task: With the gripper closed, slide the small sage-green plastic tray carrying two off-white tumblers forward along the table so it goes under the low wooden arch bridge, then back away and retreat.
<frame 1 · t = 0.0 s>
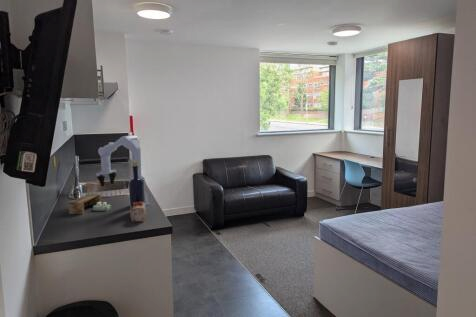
hand: (107, 184, 228), 10 cm above the worktop, fingers open, 7 cm apart
food item: (138, 219, 187), on the worktop
tray: (102, 209, 207), on the worktop
bottle: (138, 212, 200), on the worktop
wooden arch bridge: (86, 209, 208), on the worktop
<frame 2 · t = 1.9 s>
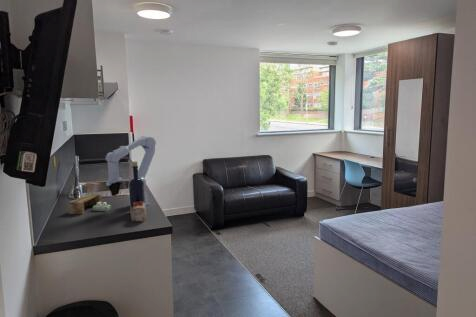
hand: (115, 195, 204), 9 cm above the worktop, fingers closed
nothing on the worktop moved.
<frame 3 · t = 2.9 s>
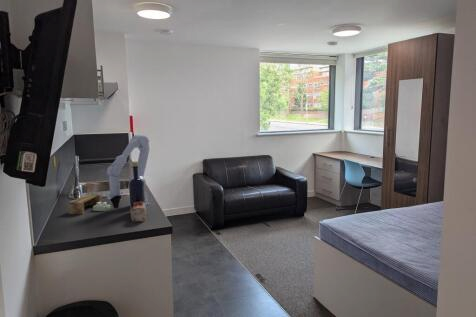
hand: (116, 208, 205), 1 cm above the worktop, fingers closed
nothing on the worktop moved.
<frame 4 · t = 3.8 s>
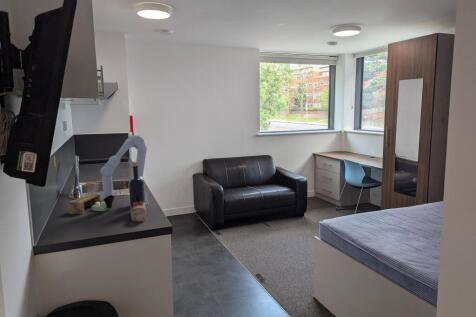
hand: (109, 208, 205), 1 cm above the worktop, fingers closed, pressing on tray
tray: (100, 209, 207), on the worktop, touching gripper
everything else where it was.
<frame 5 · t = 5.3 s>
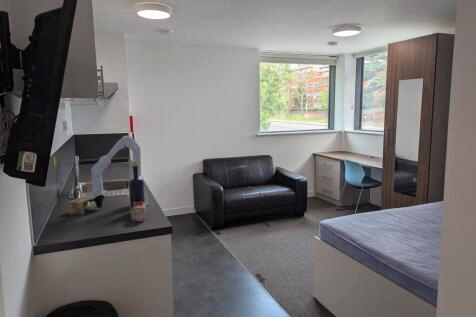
hand: (99, 207, 207), 1 cm above the worktop, fingers closed, pressing on tray
tray: (90, 209, 208), on the worktop, touching gripper
everything else where it was.
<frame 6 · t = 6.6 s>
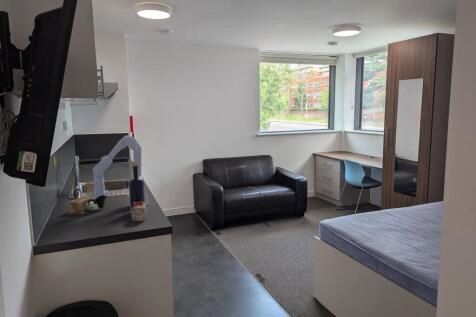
hand: (101, 207, 207), 1 cm above the worktop, fingers closed
tray: (88, 209, 208), on the worktop
everything else where it was.
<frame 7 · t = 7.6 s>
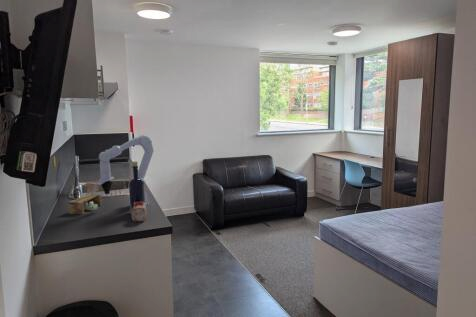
hand: (107, 193, 207), 9 cm above the worktop, fingers closed
nothing on the worktop moved.
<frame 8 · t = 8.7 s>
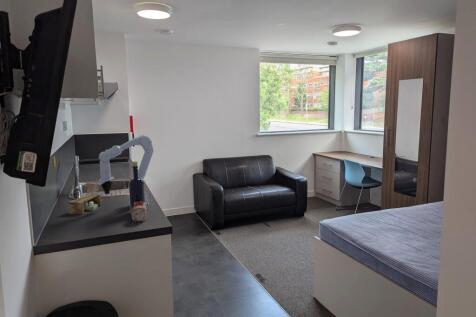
hand: (107, 193, 207), 9 cm above the worktop, fingers closed
nothing on the worktop moved.
at the end: tray 1.8 cm from the wooden arch bridge (horizontally); tray tilted 0°; the gripper is holding nothing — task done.
